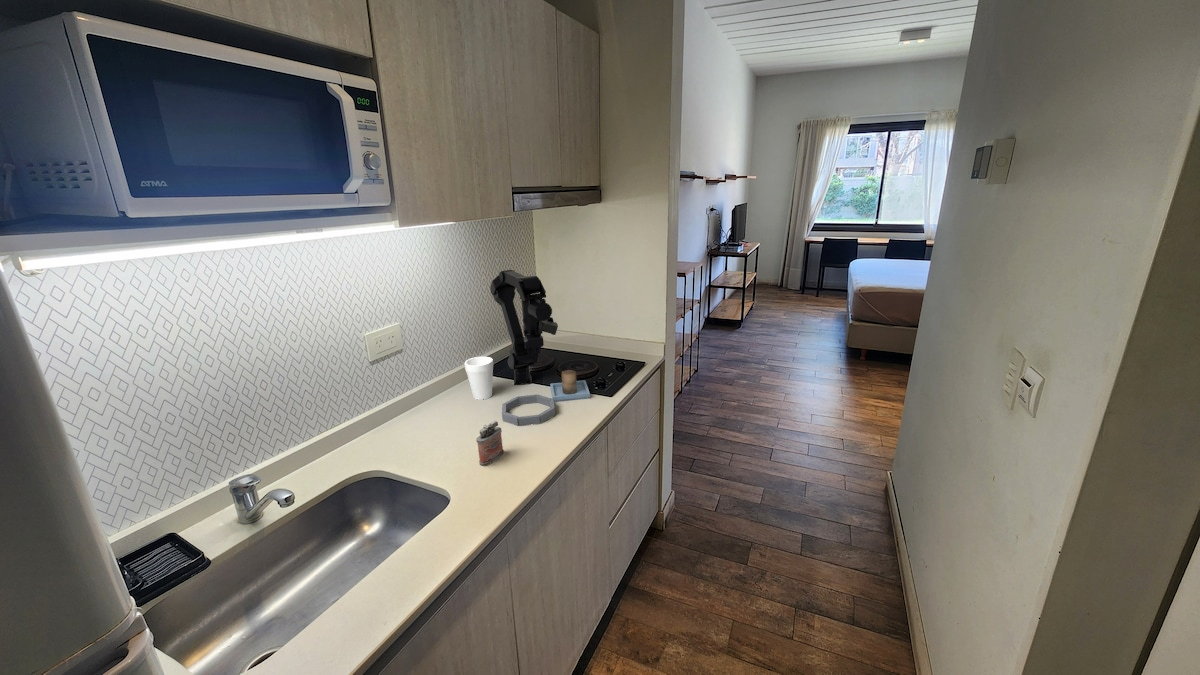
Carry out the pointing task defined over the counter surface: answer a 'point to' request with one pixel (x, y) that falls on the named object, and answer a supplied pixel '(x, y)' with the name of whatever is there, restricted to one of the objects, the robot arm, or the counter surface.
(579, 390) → the tray
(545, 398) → the holder ring
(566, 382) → the walnut cylinder
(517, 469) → the counter surface
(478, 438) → the lighter
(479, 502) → the counter surface
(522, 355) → the robot arm
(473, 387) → the foam cup
